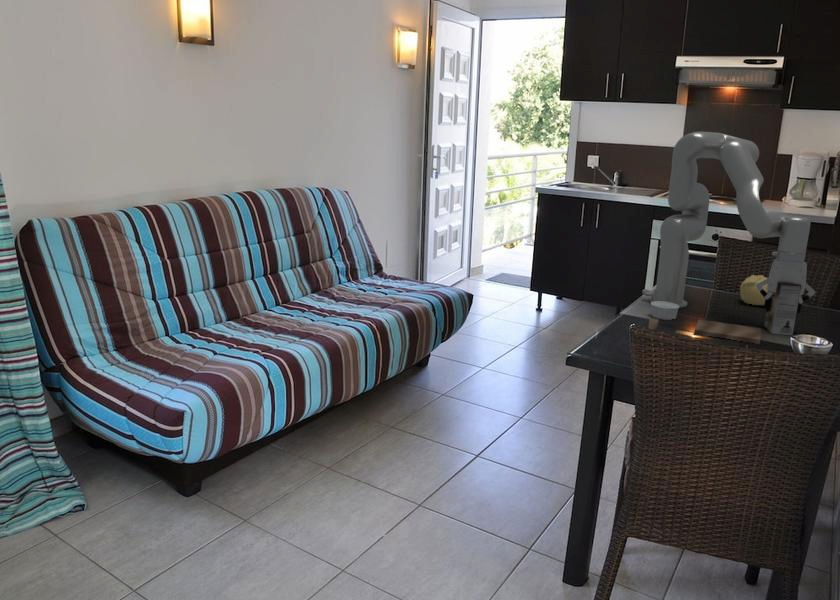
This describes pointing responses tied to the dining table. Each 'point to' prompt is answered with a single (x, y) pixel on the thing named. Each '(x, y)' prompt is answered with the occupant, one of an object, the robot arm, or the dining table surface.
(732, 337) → the walnut board
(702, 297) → the dining table surface
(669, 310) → the ramekin
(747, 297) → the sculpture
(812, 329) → the dining table surface
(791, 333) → the coffee box
